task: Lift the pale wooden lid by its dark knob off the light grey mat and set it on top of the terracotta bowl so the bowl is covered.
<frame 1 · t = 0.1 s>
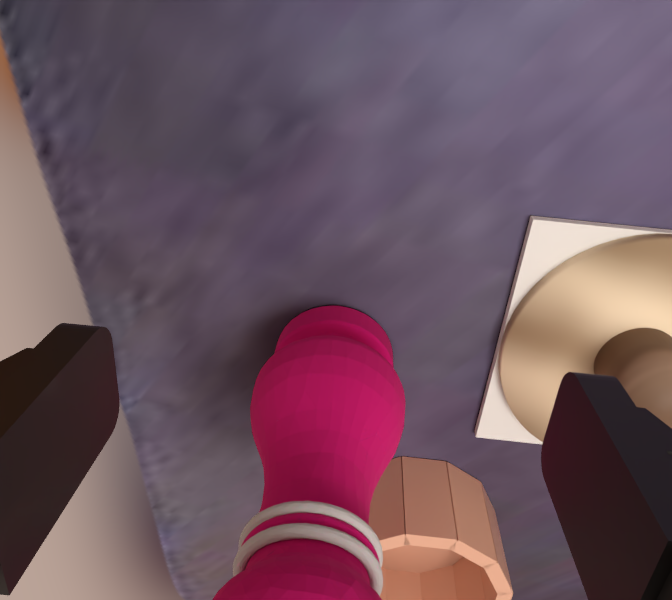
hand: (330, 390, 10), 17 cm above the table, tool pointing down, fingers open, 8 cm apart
lid: (629, 353, 29), resting on mat
bowl: (411, 517, 36), on the table
mat: (626, 348, 29), on the table
pepper mill: (334, 352, 31), on the table
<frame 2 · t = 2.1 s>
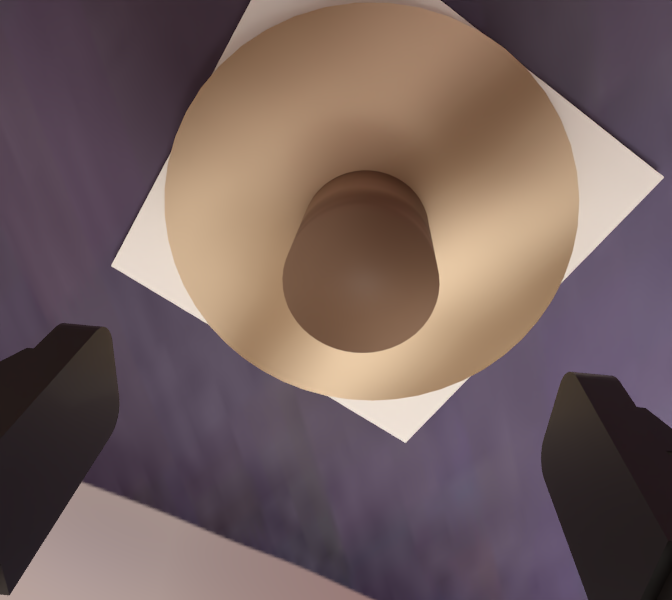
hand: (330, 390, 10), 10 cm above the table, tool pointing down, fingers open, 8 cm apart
lid: (366, 224, 19), resting on mat
mat: (366, 220, 19), on the table
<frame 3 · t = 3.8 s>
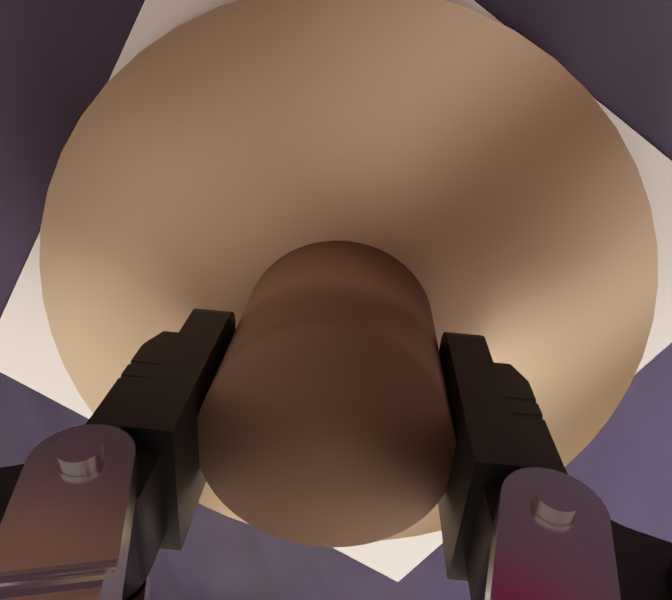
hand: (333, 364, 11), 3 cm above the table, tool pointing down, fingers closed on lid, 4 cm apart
lid: (341, 310, 13), resting on mat, touching gripper
mat: (341, 300, 13), on the table
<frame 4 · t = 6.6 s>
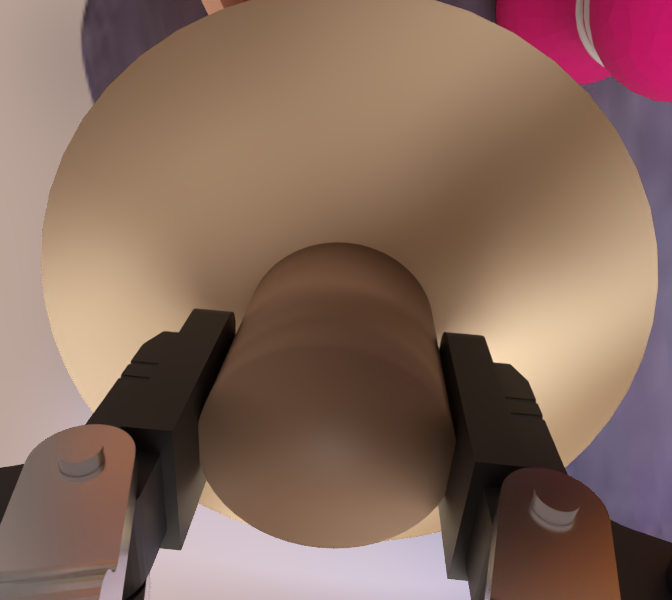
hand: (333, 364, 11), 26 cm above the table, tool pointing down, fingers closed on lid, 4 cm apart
lid: (341, 312, 13), point 23 cm above the table, touching gripper
pepper mill: (554, 5, 31), on the table
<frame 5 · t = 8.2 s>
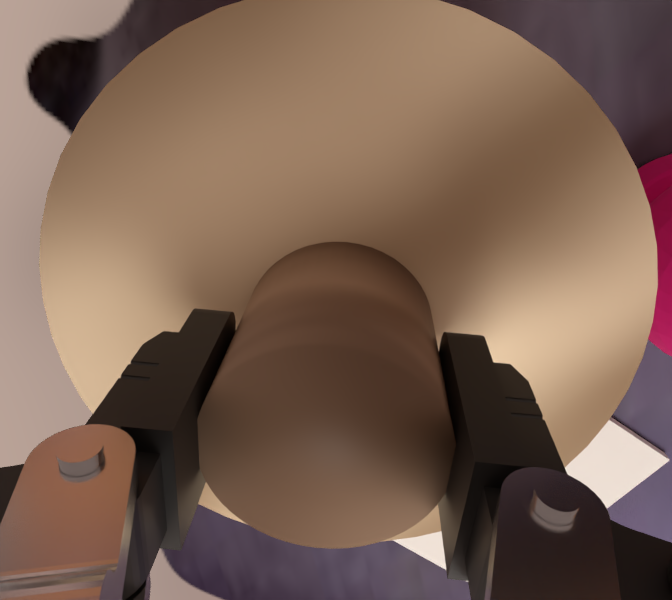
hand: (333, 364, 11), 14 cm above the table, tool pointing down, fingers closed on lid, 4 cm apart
lid: (341, 311, 13), point 12 cm above the table, touching gripper
mat: (479, 470, 30), on the table
pepper mill: (671, 224, 24), on the table
when the fingers open (9 cm above the table, at t = 9.3 s): lid drops 1 cm, resting on bowl.
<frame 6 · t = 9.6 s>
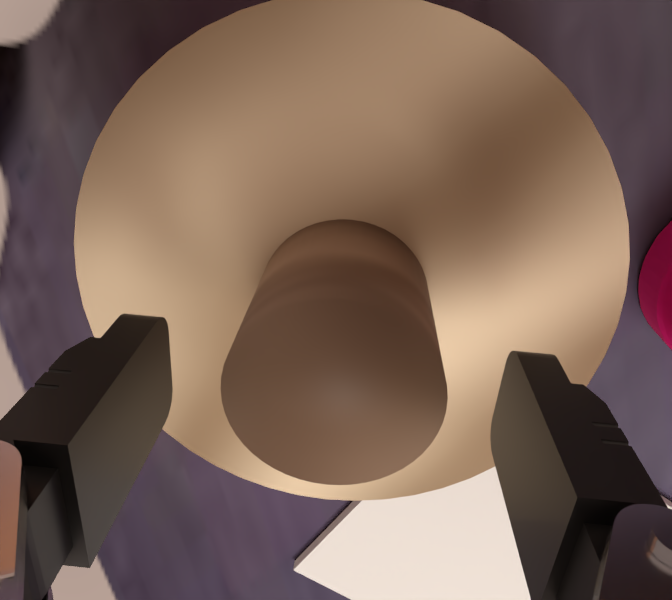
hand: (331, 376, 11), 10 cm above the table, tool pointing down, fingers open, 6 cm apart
lid: (345, 285, 14), point 5 cm above the table, touching bowl
mat: (492, 544, 26), on the table
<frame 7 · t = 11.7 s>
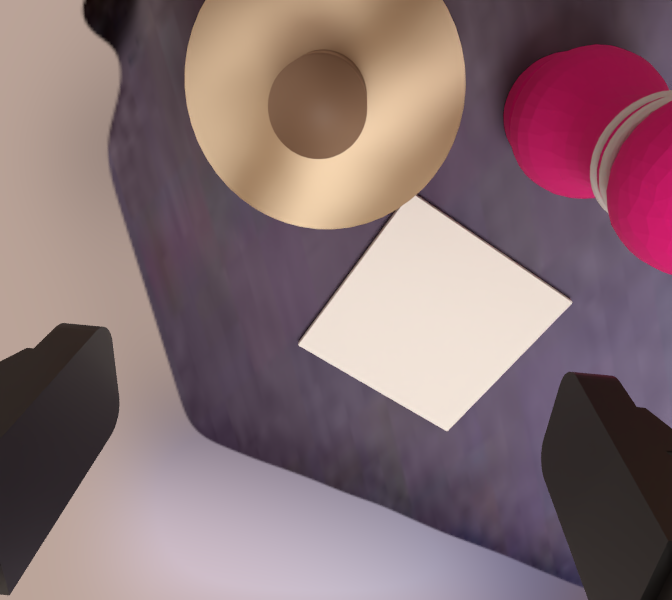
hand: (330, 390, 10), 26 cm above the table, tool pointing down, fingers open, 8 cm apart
lid: (324, 94, 27), point 5 cm above the table, touching bowl
mat: (430, 320, 39), on the table
pepper mill: (557, 110, 32), on the table
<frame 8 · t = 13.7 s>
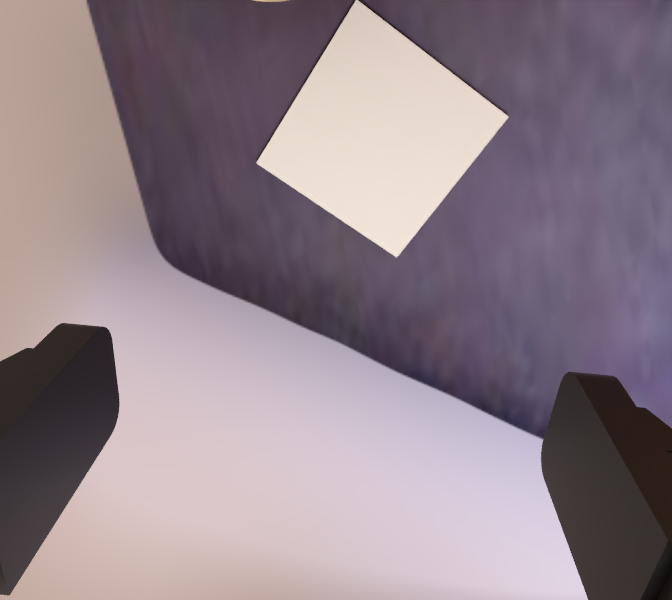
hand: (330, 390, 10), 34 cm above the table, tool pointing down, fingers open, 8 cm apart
mat: (378, 139, 41), on the table
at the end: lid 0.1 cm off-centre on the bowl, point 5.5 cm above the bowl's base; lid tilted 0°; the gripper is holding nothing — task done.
